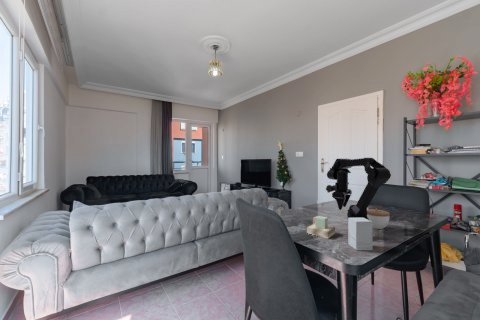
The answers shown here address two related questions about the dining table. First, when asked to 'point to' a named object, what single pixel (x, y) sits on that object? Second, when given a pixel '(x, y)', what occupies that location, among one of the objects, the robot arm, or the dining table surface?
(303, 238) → the dining table surface
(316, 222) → the sage cube
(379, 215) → the lidded bowl
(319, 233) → the birch block
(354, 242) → the supplement box
